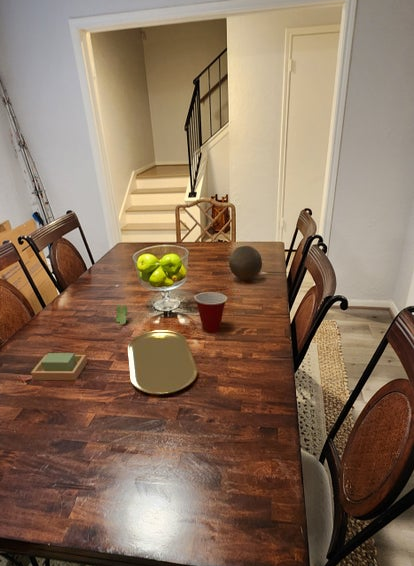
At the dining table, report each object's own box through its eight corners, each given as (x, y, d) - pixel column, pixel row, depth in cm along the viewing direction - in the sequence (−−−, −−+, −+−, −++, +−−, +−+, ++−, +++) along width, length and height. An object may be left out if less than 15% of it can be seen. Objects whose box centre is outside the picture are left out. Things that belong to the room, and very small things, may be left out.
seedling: (130, 331, 139) (116, 328, 133) (125, 313, 141) (111, 309, 136) (143, 321, 135) (129, 318, 130) (137, 303, 138) (124, 299, 133)
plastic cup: (234, 329, 126) (234, 297, 120) (208, 339, 121) (206, 306, 115) (215, 318, 134) (214, 287, 128) (190, 327, 129) (188, 295, 123)
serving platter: (182, 330, 127) (181, 326, 126) (204, 390, 98) (204, 386, 97) (127, 338, 124) (126, 334, 123) (132, 403, 95) (132, 398, 94)
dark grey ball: (234, 273, 173) (234, 241, 165) (264, 276, 169) (265, 243, 161) (225, 284, 162) (224, 250, 154) (257, 287, 158) (258, 252, 150)
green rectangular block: (44, 373, 107) (40, 362, 105) (52, 364, 111) (48, 353, 109) (71, 374, 106) (67, 362, 104) (77, 364, 111) (74, 353, 109)
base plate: (33, 380, 106) (30, 372, 104) (48, 361, 114) (45, 354, 113) (75, 380, 105) (73, 372, 103) (87, 361, 113) (85, 354, 111)
